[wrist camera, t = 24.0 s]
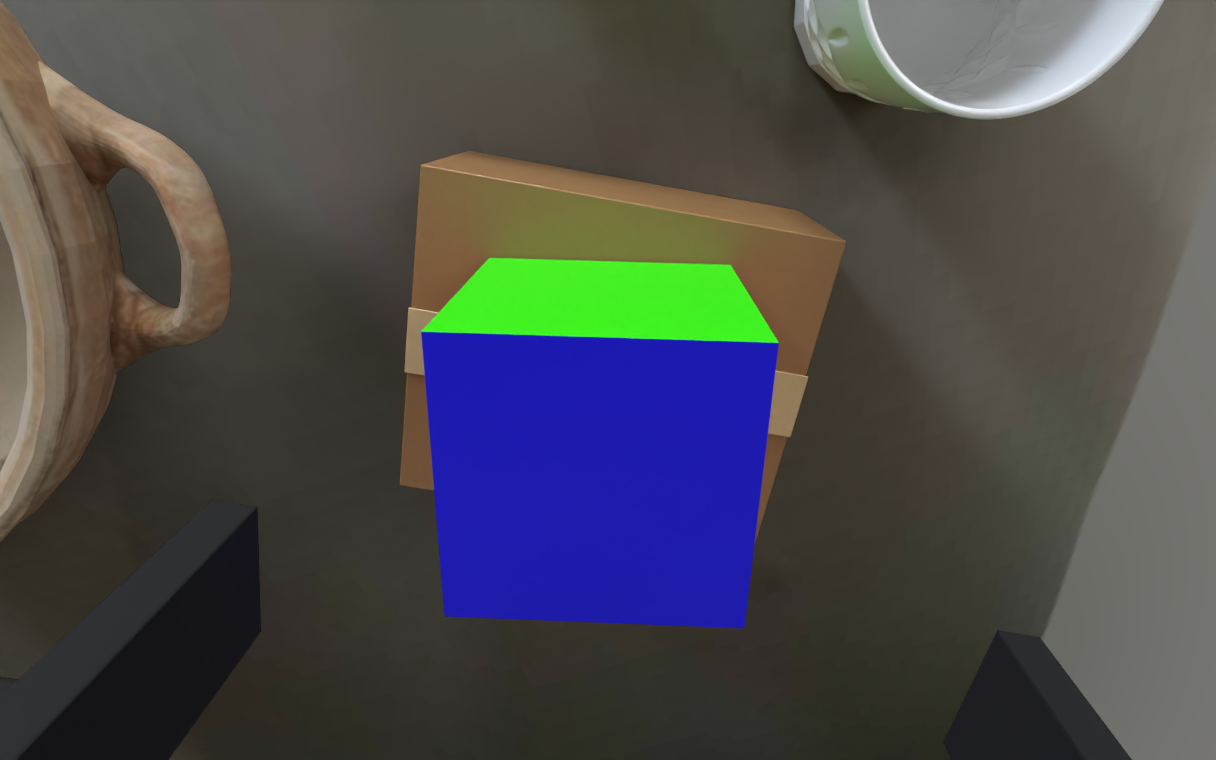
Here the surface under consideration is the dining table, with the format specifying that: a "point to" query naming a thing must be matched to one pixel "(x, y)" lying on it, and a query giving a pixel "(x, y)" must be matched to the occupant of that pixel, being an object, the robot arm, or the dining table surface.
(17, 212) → the ceramic bowl
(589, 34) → the dining table surface
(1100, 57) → the white cup
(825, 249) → the cardboard box
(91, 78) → the dining table surface
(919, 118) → the dining table surface
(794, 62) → the dining table surface
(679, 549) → the cube
